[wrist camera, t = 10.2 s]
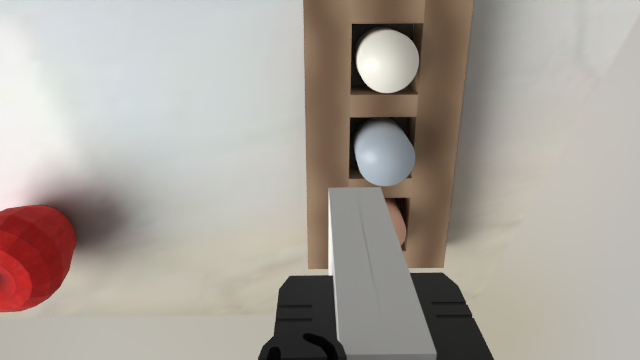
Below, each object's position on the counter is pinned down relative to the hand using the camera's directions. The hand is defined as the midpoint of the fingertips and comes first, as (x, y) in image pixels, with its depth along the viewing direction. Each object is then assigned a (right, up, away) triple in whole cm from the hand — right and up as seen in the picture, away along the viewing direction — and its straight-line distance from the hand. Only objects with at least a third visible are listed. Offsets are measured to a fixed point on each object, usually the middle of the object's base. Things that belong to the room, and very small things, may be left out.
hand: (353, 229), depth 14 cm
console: (+5, +6, +33) cm, 34 cm away
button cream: (+5, +13, +29) cm, 32 cm away
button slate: (+5, +5, +31) cm, 32 cm away
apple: (-30, -4, +36) cm, 47 cm away
